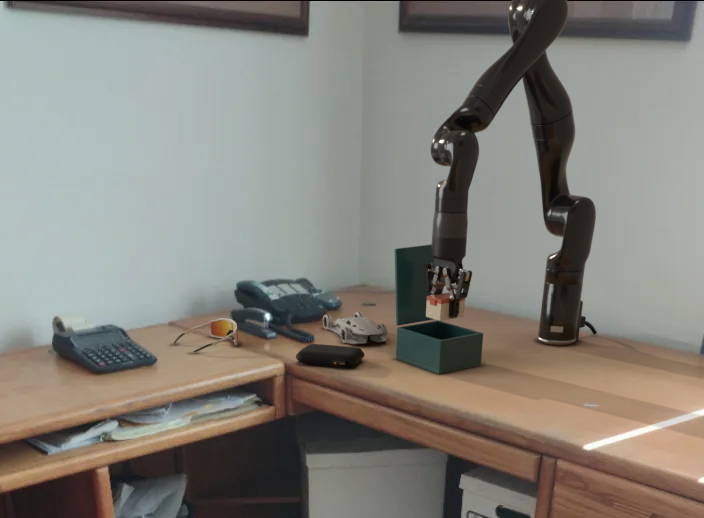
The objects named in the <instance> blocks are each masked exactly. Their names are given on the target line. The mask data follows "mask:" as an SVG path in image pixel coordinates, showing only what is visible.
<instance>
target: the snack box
mask: <svg viewBox="0 0 704 518" xmlns="http://www.w3.org/2000/svg"><path fill="white" fill-rule="evenodd" d="M454 294H456V292H454ZM449 301H450V296H449V292H442V294H437V295H430V296H427V303H426V317H429V318H432V319H434V321H437V320H439V321H449V320H454V319H460V318H464V317H465V304H466V298H463V299H461V300H460V305H459V314H458V317H456V318H449Z"/></svg>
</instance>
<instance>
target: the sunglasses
mask: <svg viewBox="0 0 704 518" xmlns="http://www.w3.org/2000/svg"><path fill="white" fill-rule="evenodd" d="M205 328H208V330H209V335H210V337H212V338H217V339H218V340H215V341H212V342H208V343H206V344H204V345H201V346H199V347H197V348H195V349H194V350H192V351H191V353H192V354H195V353H198V352H200V351H202V350H204V349H206V348H208V347H211V346H216V345H219V344H220V343H222V342H224V341H226V340H227V341H228V340H233V342H234V346H238V341H239V332H238V331H239V330H238V324H237V322H236V321H235V320H233V319H231V318H228V317H227V318H226V317H221V318H220V317H219V318H217V319H213V320H209V321H208V322H206V323H203V324H200V325H197V326H195V327H193V328H190V329H187V330H185V331H183V332H181V333H180V334H179V335H178V336H176V338H175V339H174V340H173V341H172V345H175V344H176V343H177V342H178V341H179V340H180V339H181V338H182V337H183V336H185V335H189V334H190V333H192V332H193V331H196V330H203V329H205Z"/></svg>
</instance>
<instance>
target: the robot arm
mask: <svg viewBox="0 0 704 518" xmlns="http://www.w3.org/2000/svg"><path fill="white" fill-rule="evenodd" d="M507 13H508V14H507V19H508V21H507V22H508V29H509V34H510V39H511V42H512V45H511V46H510V47H509V49H508V50H507V51H505V52H504V54H503V55H501V56H500V57H499V58H498V59H497V60H496V61H495V62H493V63H492V64H491V65H490V66H489V67H488V68H487V69H486V70H485V71H484V72H483V73H482V74H481V75H480V77H478V79H477V80H476V81H475V83H474V85H473V86H472V88H471V89H470V91H469V92H468V95H467V96H466V97H465V99H464V101H463V102H462V104H461V105H460V106H459V107H458V108H457V109H456V110H454V112H453V113H452V114H450V116H448V118H447V119H446V120H444V122H442V124H441V125H440V126H439V127H438V129H437V130H436V131H435V133H434V135H433V137H432V138H431V139H432V140H431V142H430V143H431V144H430V156H431V158H432V161H434V163H436V164H437V165H439V166H440V167H448V168H449V171H448V175H447V178H446V179H443V180H440V181H439V182H437V184H436V186H435V192H434V194H435V196H434V212H433V219H432V227H431V228H432V231H431V244H432V248H431V255H432V257H434V261H433V262H432V263H425V264H424V274H425V285H426V291H427V292H428V291H429V292H430V293H431V295H437V294H443V293H444V292H443V291H444V288H445V287H446V290H447V291H448V293H449V296H450V301H449V318H454V319H457V318H456V317H458V314H459V305H460V300H461V299H463V298H465V299H466V298H467V297H468V296H469V290H470V287H471V282H472V277H473V271H472V270H467V269H464V265H463V259H464V258H465V257H466V256H467V241H468V226H469V220H468V209H469V208H468V207H469V193H470V192H469V191H470V187H471V185H472V182H473V178H474V176H475V175H474V174H475V172H476V168H477V166H478V165H477V164H478V161H479V157H480V145H479V140H478V136H477V135H476V134H477V133H480V132H484V131H485V130H487V129H488V128H489V126H491V124H492V123H493V121H494V119H495V117H496V116H497V114H498V113H499V111H500V110H501V108H502V106H503V105H504V103H505V102H506V100H508V98H509V96H510V94H511V93H512V92H513V90H514V89H515V87H516V86H517V85H518V84H519V82H520V81H521V80H522V83H523V90H524V94H525V99H526V104H527V109H528V117H529V123H530V129H531V135H532V141H533V145H534V148H535V149H534V150H535V154H536V155H535V156H536V161H537V167H538V174H539V175H538V176H539V182H540V194H541V207H542V218H543V222H544V226H545V229H546V230H547V232H548V233H549V234H551V235H552V236H555V237H559V238H562V242H561V246H560V248H559V250H558V251H556V252H551V253H550V254H548V255H547V257H546V261H545V271H544V280H543V281H544V282H543V290H542V299H541V308H540V316H539V324H538V325H539V327H538V334H537V342H539V343H541V344H544V345H551V346H570V345H573V344H575V343H576V342H578V341H579V336H580V330H581V329H582V328H585V326H586V327H587V328H588V329H589V330H590V331H591V333H592V334H593V336H595V335H597V333H598V331H597V330H596V329H595V327H594V326H593V324H592V323H591V322H589V321H587V320H586V319H587V317H586V316H584V315H582V313H583V305H584V302H583V300H582V294H583V293H582V292H583V284H584V278H585V277H584V276H585V269H586V263H587V261H588V259H589V256H590V254H591V249H592V243H593V238H594V234H595V233H594V232H595V226H596V219H597V211H596V205H595V203H594V201H593V200H592V199H591V198H590V197H587V196H582V195H577V194H576V195H575V194H571V193H570V192H571V191H570V188H569V184H568V178H567V165H568V162H569V158H570V156H571V152H572V149H573V146H574V143H575V139H576V123H575V118H574V111H573V110H574V109H573V104H572V101H571V97H570V95H569V93H568V91H567V90H566V87H565V86H564V84H563V83H562V81H561V80H560V78H559V77H558V75H557V74H556V72H555V71H554V68H553V67H552V65H551V63H550V60H549V57H548V54H547V49H548V48H549V47H551V45H552V44H553V43H554V42H555V40H556V39H557V38H558V37H559V36H560V34H561V33H562V31H563V30H564V29H565V26H566V24H567V20H568V16H569V3H568V0H511V1H510V4H509V7H508V12H507ZM430 279H431V280H432V285H430ZM454 293H455V294H454Z"/></svg>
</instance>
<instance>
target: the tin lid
mask: <svg viewBox="0 0 704 518" xmlns="http://www.w3.org/2000/svg"><path fill="white" fill-rule="evenodd" d="M431 248H432V243H431V244H424V245H423V244H422V245H414V246H407V247H398V248H394V280H395V281H394V283H395V285H394V286H395V287H394V288H395V325H396V326H405V325H411V324H417V323H423V322H429V321H435V319H432V318H429V317H426V303H427V296H430V295H431V293H430V292H429V291H428V292H427V291H426V285H425V274H424V264H425V263H432V262H433V261H434V257H432V255H431ZM430 285H432V280H431V279H430Z"/></svg>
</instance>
